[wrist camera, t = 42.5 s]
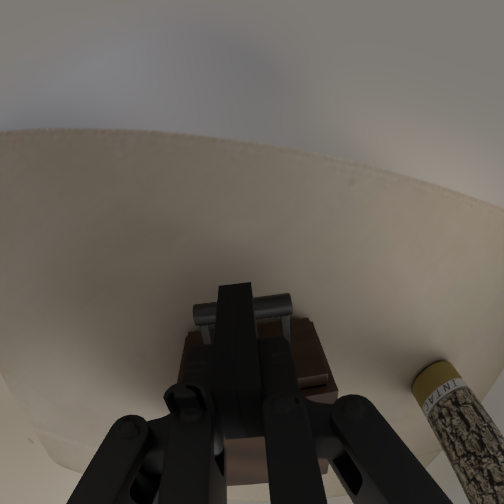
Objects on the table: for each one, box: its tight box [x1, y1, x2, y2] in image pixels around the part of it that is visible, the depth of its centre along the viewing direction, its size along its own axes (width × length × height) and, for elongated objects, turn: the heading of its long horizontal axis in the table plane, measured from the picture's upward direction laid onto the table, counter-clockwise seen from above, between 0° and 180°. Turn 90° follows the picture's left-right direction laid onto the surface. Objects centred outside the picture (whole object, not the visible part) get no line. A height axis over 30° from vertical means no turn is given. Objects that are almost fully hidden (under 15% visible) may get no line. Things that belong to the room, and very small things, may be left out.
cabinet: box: [177, 322, 338, 486], centre depth 28 cm, size 15×13×10 cm
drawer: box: [179, 293, 328, 390], centre depth 27 cm, size 19×11×8 cm, turn 6°
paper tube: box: [412, 361, 504, 504], centre depth 24 cm, size 7×7×25 cm
